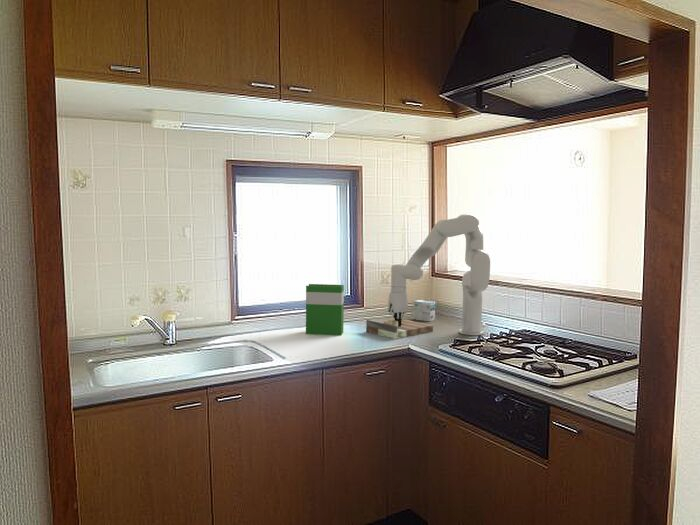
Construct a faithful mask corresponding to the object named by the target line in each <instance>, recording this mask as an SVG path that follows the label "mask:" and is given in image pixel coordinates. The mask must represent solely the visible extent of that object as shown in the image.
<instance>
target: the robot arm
mask: <svg viewBox="0 0 700 525" xmlns="http://www.w3.org/2000/svg"><path fill="white" fill-rule="evenodd" d="M479 225H480V220H479V218H478V217H477V216H476V215H474V214H465V213H464V214H460V215H459V216H457V217H454V218H450V219H448V218H447V219H440V220H437V222H436V223H435V224H434V226H433V227H432V229H431V230H430V232H429V233H428V235H427V236H426V238H425V239H424V241H423V242H422V244H420V246H419V247H418V248H417V249H416V250H415V251H414V253H413V254H412V255H411V256H410V258H409V260H408V262H406V265H405V264H392V265H391V268H390V292H389V294H388V300H387V301H388V302H387V312H388V313H389V316H392V317H393V319H394V320H395V321H398V327H400V326H401V320H402V319H403V316H404V315H405V314H407V311H408V305H409V302H408V301H409V300H408V292H407V289H408V288H407V280H412V281H417V280H420V279H421V278H423V276H424V270H423V268H422V267H423V266H424V265H425V264H426V262H427V261H428V260H429V259H430V258H432V257H434V256H435V255H436V254H437V253H438V252H439V251H440V249H441V248H442V246H443V245H444V243H445V242H446V240H447V239H448V238H451V237H457V236H461V235H464V238H465V254H464V255H465V256H464V261H465V264H466V266H468V267H469V268H470V270H468V271H466V272H464V274H463V275H462V278H461V286H462V287H461V288H462V310H461V311H462V312H461V317H462V318H461V328H459V329H458V333H459V334H461V335H466V336H482V335H485V330H483V328H486V326H487V325H486V323H482V318H483V317H482V316H483V314H482V313H483V310H482V309H483V292H484V291H486V290H487V288H488V287H489V284H490V279H491V278H490V275H491V258H490V255H489V254H488V253H487V252H486V251H485V250H484V234H483V231H482V228H481V227H480V226H479Z"/></svg>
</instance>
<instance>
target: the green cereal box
mask: <svg viewBox="0 0 700 525" xmlns="http://www.w3.org/2000/svg"><path fill="white" fill-rule="evenodd" d="M344 289H345V285H344V284H329V283H328V284H324V283H323V284H319V283H308V285H306V286H305V335H320V336H325V335H326V336H342V335H343V334H344V318H345V317H344V314H345V312H344V309H345V308H344V304H345V303H344V302H345V300H344V297H345V296H344V295H345V292H344V291H345V290H344Z"/></svg>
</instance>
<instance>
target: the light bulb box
mask: <svg viewBox="0 0 700 525" xmlns="http://www.w3.org/2000/svg"><path fill="white" fill-rule="evenodd" d="M415 319H416V321H425V322H432V321H435V320H436V301H435V300H434V301H433V300H426V299H425V300H424V299H423V300H422V299H417V300H414V301H413V320H415Z"/></svg>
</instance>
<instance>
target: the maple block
mask: <svg viewBox="0 0 700 525" xmlns="http://www.w3.org/2000/svg"><path fill="white" fill-rule="evenodd" d="M383 323H384V324H389V325H393V326H397V329H398V321H395V319H387V320H383Z"/></svg>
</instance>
